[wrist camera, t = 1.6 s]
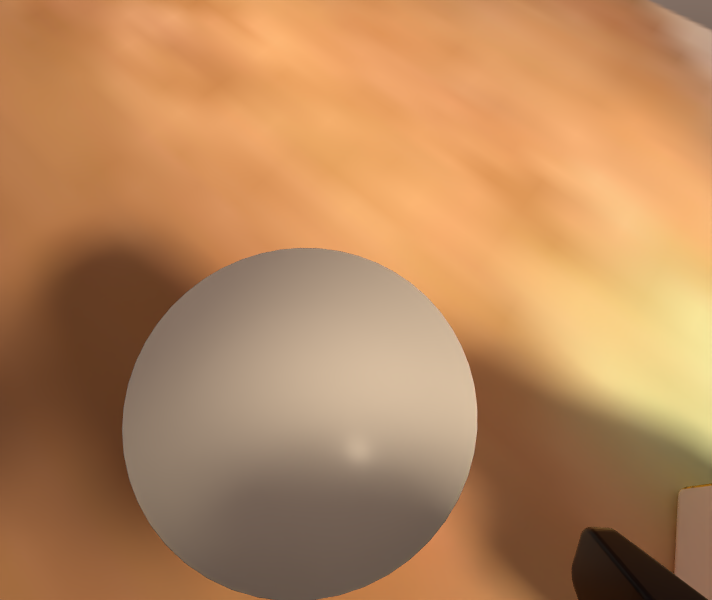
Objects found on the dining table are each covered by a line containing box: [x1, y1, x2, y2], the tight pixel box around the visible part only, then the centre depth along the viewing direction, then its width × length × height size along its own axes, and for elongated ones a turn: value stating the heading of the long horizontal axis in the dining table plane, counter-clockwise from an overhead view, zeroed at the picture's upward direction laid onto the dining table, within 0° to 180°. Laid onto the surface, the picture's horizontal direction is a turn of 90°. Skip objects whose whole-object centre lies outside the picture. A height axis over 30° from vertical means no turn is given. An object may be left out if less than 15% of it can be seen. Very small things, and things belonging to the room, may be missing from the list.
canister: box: [122, 248, 477, 600], centre depth 13 cm, size 6×6×10 cm
